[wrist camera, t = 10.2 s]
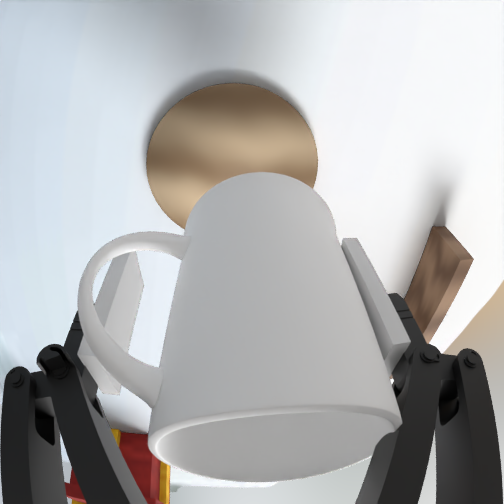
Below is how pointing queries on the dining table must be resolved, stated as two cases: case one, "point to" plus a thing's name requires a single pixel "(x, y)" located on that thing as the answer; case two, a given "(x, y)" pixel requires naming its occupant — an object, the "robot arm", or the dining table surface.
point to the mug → (255, 340)
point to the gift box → (135, 470)
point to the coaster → (225, 144)
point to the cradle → (437, 280)
